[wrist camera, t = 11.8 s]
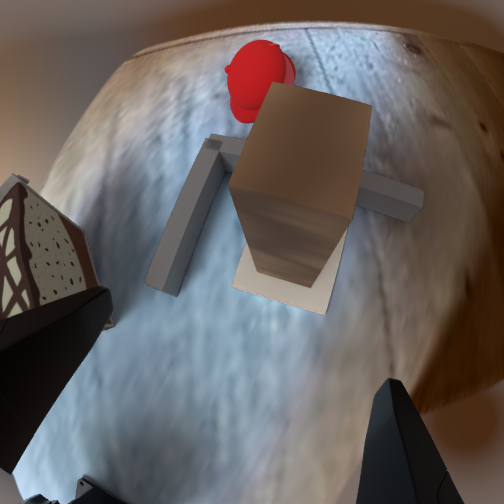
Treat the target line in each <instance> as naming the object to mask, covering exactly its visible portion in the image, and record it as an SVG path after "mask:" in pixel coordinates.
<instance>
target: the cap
mask: <svg viewBox="0 0 504 504" xmlns="http://www.w3.org/2000/svg"><path fill="white" fill-rule="evenodd" d="M225 72H226V73H227V74H228V77H227V84H228V90H229V93H230V96H231V98H230V105H231V110H232V113H233V115H234V117H235V118H236V119H237V120H238V121H240V122H242V123H251V122H254V121H255V120H256V117H257V115H258V113H259V111H260V108H261V106H262V104H263V102H264V99H265V97H266V95H267V93H268V91H269V88H270V86H271V84H272V82H276V83H282V84H287V85H292V86H294V80H295V67H294V64H293V62H292V61H291V59H290V58H289V57H288V56H287V55H286V54H285V53H284V52H282V50H281V49H280V45H279V44H274V43H273V42H271V41H268V40H255V41H252V42H250V43H248V44H246V45H245V46H243V47H242V48H241V49H240V50H239V51H238V52H237V53H236V55H235V56H234V58H233V60H232V62H231V64H230V65H228V66H226V67H225Z"/></svg>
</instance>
